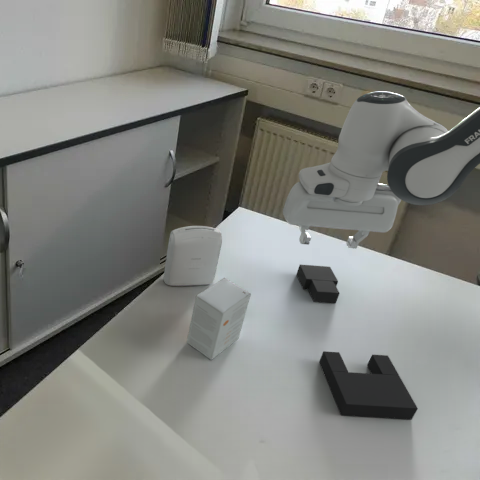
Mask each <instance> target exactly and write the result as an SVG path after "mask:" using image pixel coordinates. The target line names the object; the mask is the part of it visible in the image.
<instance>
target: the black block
mask: <svg viewBox="0 0 480 480" xmlns="http://www.w3.org/2000/svg"><path fill="white" fill-rule="evenodd" d="M296 276H297V278H298V281H299V284H300V286H301V288H302V290H307V291H308V292H309V295H310V297H311V299H312V301H313V303H322V304H336V303H337V301H338V298H339V296H340V291H339V289H338V287H337V286H338V283H339V280H338V277H336V275H335V273H334V270H332V267H331V266H325V265H313V264H299V266H298V269H297V272H296Z"/></svg>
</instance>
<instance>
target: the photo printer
mask: <svg viewBox="0 0 480 480" xmlns="http://www.w3.org/2000/svg"><path fill="white" fill-rule="evenodd" d="M222 245H223V236H222V232H221V230H220V229H218V228H215V227H211V226H207V225H190V226H183V227H178V228H175V229H173V230H171V231H170V233H169V239H168V245H167V251H166V257H165V265H164V271H163V277H162V278H163V282H164V283H165V284H166V285H167V286H171V287H178V286H179V287H180V286H181V287H183V286H185V287H186V286H204V285H205V286H206V285H213V284H214V283H215V277H216V273H217V267H218V264H219V259H220V254H221V249H222Z"/></svg>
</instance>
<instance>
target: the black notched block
mask: <svg viewBox="0 0 480 480" xmlns="http://www.w3.org/2000/svg"><path fill="white" fill-rule="evenodd" d="M318 363H319V366H320V368H321V371H322V373H323V375H324V377H325V380H326V383H327V385H328V387H329V390H330V392H331V395H332V397H333V399H334V402H335V405H336V406H337V407H336V408H337V409H338V411H339V414H340V416H344V417H345V416H346V417H359V418H376V419H393V420H407V421H408V420H413V418H414V417H415V414H416V413H417V411H418V406H417V404H416V403H415V400H414V399H413V397H412V396H411V394H410V392H409V390H408V388H407V387H406V385H405V383H404V381H403V379H402V377H401V376H400V374H399V372H398V371H397V369H396V367H395V366H394V363H393V362H392V360H391V358H390V357H389V355H386V354H371V356H370V358H369V360H368V362H367V365H366V366H367V368H368V370H369V372H368V373H367V372H366V373H365V372H352V371H351V372H350V371H349V370H348V368H347V366H346V364H345V362H344V360H343V357H342V355H341V353H340V352H339V351H327V350H326V351H323V352H322V353H321V356H320V359H319V361H318Z"/></svg>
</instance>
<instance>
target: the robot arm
mask: <svg viewBox="0 0 480 480" xmlns="http://www.w3.org/2000/svg"><path fill="white" fill-rule="evenodd" d="M337 141H338V142H337V143H338V144H337V148H336V151H335V152H334V154H333V155H332V157H331V159H330V162H327V163H323V164H320V165H315V166H309V167H304V168H302V169H300V170H299V173H298V179H299V181H297V182H296V183H295V184H293V186H292V187H291V188H290V191H289V192H288V194H287V196H286V199H285V203H284V205H283V207H282V208H283V209H282V215H283V217H284V220H285V221H286V222H287V224H288V225H290V226H298V228H299V231H300V235H299V239H298V240H299V243H300V244H301V245H308V246H309V245H310V242H311V240H312V236H311V235H310V233H309V232H306V231H309V229H310V227H315V228H327V229H339V230H349V231H357V232H356V233H355V234H353V235H352V236H347V240H346V242H345V243H346V246H347V248H348V249H356V250H357V248H358V246H359V244H360V243H361V242H362V241H363V240H365V239H366V238H367V237H368V236H369V235H370V233H371V232H374V233H387V232H389V231H390V230H391V229H392V228H393V226H394V223H395V220H396V216H397V213H398V208H399V205H400V204H401V201H402V202H405V203H408V204H411V205H415V206H430V205H435V204H438V203H441V202H444V201H445V200H447V199H449V198H450V197H452V196H453V195H454V194H455V193H456V192H457V191H458V190H459V188H460V187H461V186H462V184H463V183H464V182H465V180H466V179H467V178H468V176H469V175H470V174H471V173H472V172H473V171H474V169H475V168H476V167H478V166H479V165H480V106H479V107H478V108H477V109H475V110H474V111H473V112H472V113H470V114H469V115H468V116H467V117H465V118H464V119H462V120H461V121H459V123H458V124H456V125H455V126H454V127H452V128H451V129H450V130H448V129H447V127H445V126H444V125H443V124H442V123H440V122H437V121H434V120H433V119H431V118H429V117H427V116H425V115H424V114H422V113H420V112H419V111H418V110H417V109H416V108H414V107H413V105H411V104H410V102H408V100H407V98H406V96H404V95H402V94H399V93H396V92H395V93H394V92H391V91H371V92H368V93H367V92H366V93H363V94H362V95H360V96H359V97H357V98H356V100H355V101H354V102H353V103H352V105H351V106H350V109H349V111H348V113H347V114H346V117H345V119H344V122H343V124H342V127H341V130H340V133H339V136H338V140H337ZM386 171H387V173H386V174H387V175H386V180H387V184H384V183H380V181H381V178H382V176H383V173H384V172H386Z"/></svg>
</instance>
